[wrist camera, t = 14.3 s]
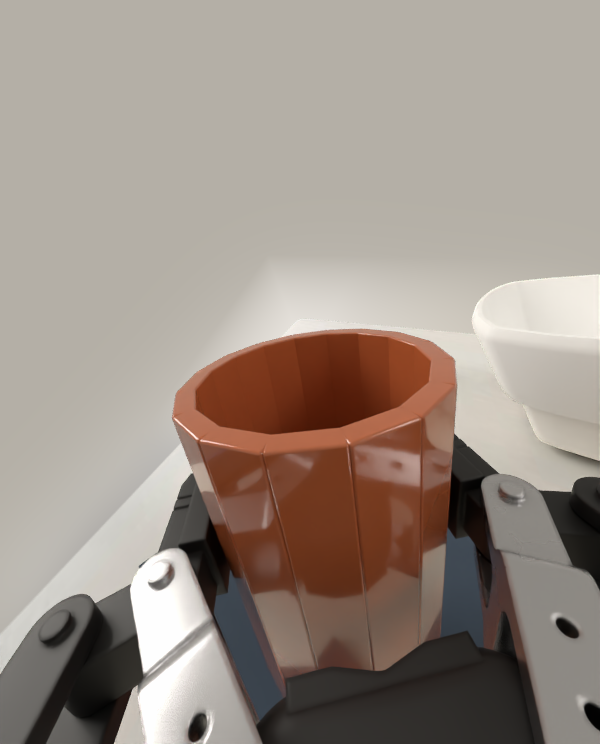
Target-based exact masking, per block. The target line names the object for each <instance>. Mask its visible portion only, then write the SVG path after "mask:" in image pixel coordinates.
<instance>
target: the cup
mask: <svg viewBox="0 0 600 744" xmlns="http://www.w3.org/2000/svg"><path fill="white" fill-rule="evenodd" d="M456 397H457V376H456V363H455V360H454V358H453V357H452V356H450V355H449V354H448V353H446V352H445V351H444V350H442V349H441V348H440V347H438V346H437V345H436V344H434V343H433V342H431V341H428V340H425V339H421V338H418V337H414V336H411V335H407V334H404V333H400V332H393V331H382V330H371V329H341V330H324V331H317V332H310V333H303V334H295V335H293V336H292V335H290V336H286V337H282V338H278V339H274V340H270V341H266V342H262V343H259V344H255V345H252V346H250V347H247V348H244V349H242V350H239V351H236V352H234V353H231V354H228V355H226V356H224V357H222V358H221V359H219V360H217V361H215V362H213V363H212V364H210V365H208V366H206V367H205V368H203V369H201V370H199V371H198V372H197V373H195V374H194V375H193V376H192V377H191V378H190V379H189V380H188V381H187V382H186V383H185V384H184V385H183V386H182V387H181V388H180V389H179V390H178V392H177V393H176V395H175V402H174V408H173V415H172V419H173V422H174V425H175V427H176V430H177V433H178V435H179V438H180V440H181V443H182V446H183V448H184V451H185V453H186V456H187V459H188V461H189V464H190V466H191V469H192V471H193V474H194V477H195V479H196V482H197V484H198V487H199V490H200V492H201V495H202V497H203V500H204V502H205V505H206V508H207V510H208V513H209V515H210V518H211V521H212V523H213V526H214V528H215V531H216V534H217V536H218V539H219V541H220V544H221V546H222V549H223V552H224V554H225V557H226V559H227V562H228V565H229V567H230V570H231V572H232V575H233V578H234V580H235V583H236V585H237V588H238V590H239V593H240V596H241V598H242V601H243V603H244V606H245V609H246V611H247V614H248V616H249V619H250V622H251V624H252V627H253V629H254V632H255V634H256V637H257V640H258V642H259V645H260V647H261V650H262V653H263V655H264V658H265V660H266V663H267V666H268V668H269V671H270V673H271V674H272V676H273V677H274V679H275V681H276V684H277V686H278V688H279V690H280V692H281V694H282V696H283V698H285V697H286V687H285V678H289V677H293V676H297V675H300V674H304V673H308V672H312V671H316V670H319V669H323V668H327V667H331V666H333V667H343V668H353V669H363V670H374V671H383V670H386V669H387V668H389V667H390V666H392V665H393V664H394V663H396V662H397V661H399V660H400V659H401V658H403V657H404V656H405V655H407V654H408V653H410V652H411V651H412V650H414V649H415V648H416V647H418V646H419V645H421V644H422V643H423V642H426V641H429V640H433V639H437V638H440V635H441V621H442V606H443V591H444V576H445V561H446V546H447V531H448V516H449V501H450V487H451V472H452V457H453V442H454V427H455V412H456Z"/></svg>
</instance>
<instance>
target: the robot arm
mask: <svg viewBox="0 0 600 744" xmlns="http://www.w3.org/2000/svg"><path fill="white" fill-rule="evenodd" d="M177 499H178V500H176V503H175V506H174V511H173V512H172V514H171V517H170V520H169V523H168V526H167V529H166V531H165V534H164V537H163V540H162V543H161V546H160V548H159V551H158V553H157V554H155V555H154V556H152V557H151V558H150V559H149V560H147V561H146V562H145V563H144V564H143V565H142V567H141V568H140V569H139V570H138V572H137V573H136V575H135V577H134V579H133V581H132V583H131V584H130V585H128V586H127V587H125V588H123V589H121V590H119V591H118V592H116V593H114V594H112V595H110V596H108V597H106V598H104V599H103V600H101V601H99V602H97V603H94V601H93V600H92V598H91V597H90V596H88V595H85V594H78V595H74V596H71V597H69V598H67V599H65V600H63V601H61V602H60V603H58V604H56V605H55V606H54V607H52V608H51V609H50V610H49V611H47V612H46V613H45V614H44V615H43V616H42V617H41V618H40V619H39V620H38V621H37V622H36V623H35V625H34V626H33V627H32V628H31V630H30V631H29V632H28V634H27V635H26V637H25V638H24V640H23V641H22V643H21V644H20V646H19V647H18V649H17V650H16V652H15V653H14V655H13V656H12V658H11V659H10V660H9V662H8V663H7V665H6V666H5V668H4V669H3V671H2V672H1V674H0V744H114V742H115V739H116V736H117V733H118V730H119V727H120V724H121V721H122V718H123V715H124V712H125V709H126V706H127V704H128V701H129V698H130V695H131V692H132V689H133V688H134V687H135V686H137V685H138V703H139V710H140V717H141V724H142V731H143V738H144V744H600V478H597V477H584V478H580V479H578V480H576V481H575V483H574V485H573V489H572V492H560V491H540V490H537V489H536V488H535V487H534V486H533V485H531V484H530V483H528V482H526V481H524V480H522V479H520V478H517V477H514V476H511V475H506V474H499V473H498V472H497V471H496V470H494V469H493V468H492V467H491V466H490V465H489V464H488V463H487V462H485V461H484V460H483V459H482V458H481V457H480V456H479V455H478V454H476V453H475V452H474V451H473V450H472V449H471V448H470V447H469V446H468V447H467V445H466V444H465V443H464V442H463V441H462V440H461V439H459V438H458V437H457V436H456V435H455V434H454V442H453V457H452V472H451V487H450V501H449V516H448V529H449V530H450V531H451V533H452V534H453V536H454V537H455V539H458V538H462V537H467V536H469V537H470V539H471V540H472V541H473V542H474V559H475V566H476V573H477V580H478V587H479V594H480V601H481V608H482V616H483V644H484V648H483V647H477V646H476V644H475V642H474V641H473V639H472V637H471V635H470V634H469V632H468V630H467V631H464V632H460V633H456V634H452V635H448V636H445V637H441V638H437V639H433V640H429V641H426V642H423V643H422V644H421V645H419V646H418V647H416V648H415V649H414V650H412V651H411V652H410V653H408V654H407V655H405V656H404V657H403V658H401V659H400V660H399V661H397V662H396V663H394V664H393V665H392V666H390V667H389V668H387V669H386V670H383V671H374V670H363V669H353V668H343V667H333V666H331V667H327V668H323V669H319V670H316V671H312V672H308V673H304V674H300V675H297V676H293V677H289V678H285V687H286V697H285V698H283V699H282V700H280V701H279V702H278V703H277V704H276V705H275V706H273V707H272V708H271V709H270V710H269V711H268V712H267V713H266V714H265V716H264V717H263V718H262V719H261V720H259V718H258V715H257V713H256V711H255V708H254V706H253V704H252V701H251V699H250V697H249V695H248V692H247V690H246V688H245V686H244V683H243V681H242V679H241V676H240V674H239V671H238V669H237V667H236V664H235V662H234V660H233V657H232V655H231V652H230V650H229V648H228V645H227V643H226V640H225V638H224V636H223V633H222V631H221V629H220V626H219V624H218V621H217V619H216V617H215V614H214V608H215V601H216V596H218V595H222V594H226V593H228V586H229V576H230V567H229V565H228V562H227V559H226V557H225V554H224V552H223V549H222V546H221V544H220V541H219V539H218V536H217V534H216V531H215V528H214V526H213V523H212V521H211V518H210V515H209V513H208V510H207V508H206V505H205V502H204V500H203V497H202V495H201V492H200V490H199V487H198V484H197V482H196V479H195V477H194V474H191V475H190V476H189V477H188V478H187V480H186V481H185V482H184V483H183V484H182V486H181V489H180V492H179V495H178V497H177Z"/></svg>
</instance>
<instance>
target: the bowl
mask: <svg viewBox="0 0 600 744" xmlns="http://www.w3.org/2000/svg"><path fill="white" fill-rule="evenodd" d="M472 324H473V329H474V331H475V334H476V336H477V338H478V340H479V342H480V345H481V347H482V349H483V351H484V353H485V355H486V357H487V360H488V362H489V364H490V366H491V368H492V370H493V373H494V375H495V377H496V379H497V381H498V383H499V386H500V387H501V388H502V390H503V391H504V392H505V394H506V395H507V396H508V397H509V398H510V399H511V400H513V401H515V402H518V403H520V404H522V405H523V407H524V410H525V412H526V415H527V417H528V419H529V422H530V424H531V427H532V429H533V431H534V434H535V435H536V436H537V438H538V439H539V440H540V441H542V442H543V443H546V444H548V445H551V446H553V447H556V448H559V449H562V450H565V451H568V452H572V453H575V454H578V455H582V456H585V457H588V458H591V459H595V460H598V461H600V274H599V275H584V276H572V277H557V278H544V279H534V280H524V281H515V282H510V283H507V284H504V285H501V286H499V287H496V288H494V289H493V290H491V291H489V292H488V293H487V294H486V295H485V296H483V297H482V298H481V299H480V300H479V301H478V303H477V304H476V307H475V310H474V313H473V316H472Z"/></svg>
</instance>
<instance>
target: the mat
mask: <svg viewBox="0 0 600 744" xmlns="http://www.w3.org/2000/svg"><path fill="white" fill-rule="evenodd" d="M156 554H157V553H156ZM153 556H154V555H153ZM149 559H150V558H149ZM149 559H148V560H149ZM146 561H147V560H146ZM146 561H145V562H146ZM145 562H144V563H145ZM144 563H142V564H141V565H140V566H139V568H141V567H142V565H143V564H144ZM214 614H215V617H216V619H217V621H218V624H219V626H220V629H221V631H222V633H223V636H224V638H225V640H226V643H227V645H228V648H229V650H230V652H231V655H232V657H233V660H234V662H235V664H236V667H237V669H238V671H239V674H240V676H241V679H242V681H243V683H244V686H245V688H246V690H247V692H248V695H249V697H250V699H251V701H252V704H253V706H254V708H255V711H256V713H257V715H258V718H259V720H261V719H262V718H263V717H264V716H265V714H266V713H267V712H268V711H269V710H270V709H271V708H272V707H273V706H275V705H276V704H277V703H278V702H279V701H280V700H282V699H283V696H282V694H281V692H280V690H279V688H278V686H277V684H276V681H275V679H274V677H273V676H272V674H271V673H270V671H269V668H268V666H267V663H266V660H265V658H264V655H263V653H262V650H261V647H260V645H259V642H258V640H257V637H256V634H255V632H254V629H253V627H252V624H251V622H250V619H249V616H248V614H247V611H246V609H245V606H244V603H243V601H242V598H241V596H240V593H239V590H238V588H237V585H236V583H235V580H234V578H233V575H232V572H231V570H230V576H229V586H228V593H226V594H222V595H218V596H216V601H215V608H214ZM467 630H468V632H469V634H470V635H471V637H472V639H473V641H474V642H475V644H476V646H477V647H483V648H484V644H483V616H482V608H481V601H480V594H479V587H478V580H477V573H476V566H475V559H474V542H473V541H472V540H471V539H470V537H469V536H467V537H462V538H458V539H455V537H454V536H453V534H452V533H451V531H450V530H449V529H448V531H447V546H446V561H445V576H444V591H443V606H442V621H441V635H440V638H441V637H445V636H448V635H452V634H456V633H460V632H464V631H467Z"/></svg>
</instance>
